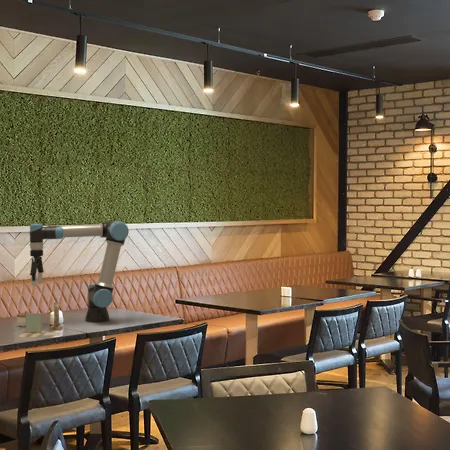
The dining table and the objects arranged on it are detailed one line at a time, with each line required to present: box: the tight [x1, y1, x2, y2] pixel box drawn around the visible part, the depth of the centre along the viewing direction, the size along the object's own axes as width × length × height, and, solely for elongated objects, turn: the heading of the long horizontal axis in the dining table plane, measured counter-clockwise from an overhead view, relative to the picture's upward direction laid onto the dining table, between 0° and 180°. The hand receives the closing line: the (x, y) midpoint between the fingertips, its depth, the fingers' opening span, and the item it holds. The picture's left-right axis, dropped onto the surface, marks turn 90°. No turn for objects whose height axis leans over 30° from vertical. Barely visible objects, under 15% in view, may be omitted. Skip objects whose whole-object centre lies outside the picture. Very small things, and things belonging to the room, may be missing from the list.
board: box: [17, 330, 47, 338], centre depth 414 cm, size 12×18×1 cm, turn 2°
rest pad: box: [42, 331, 62, 337], centre depth 414 cm, size 9×9×1 cm
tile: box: [25, 312, 43, 333], centre depth 418 cm, size 9×2×11 cm, turn 92°
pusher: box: [50, 301, 64, 332], centre depth 428 cm, size 6×6×16 cm
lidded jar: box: [16, 311, 28, 328], centre depth 441 cm, size 11×11×9 cm
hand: (37, 284), depth 437 cm, fingers open, 13 cm apart
